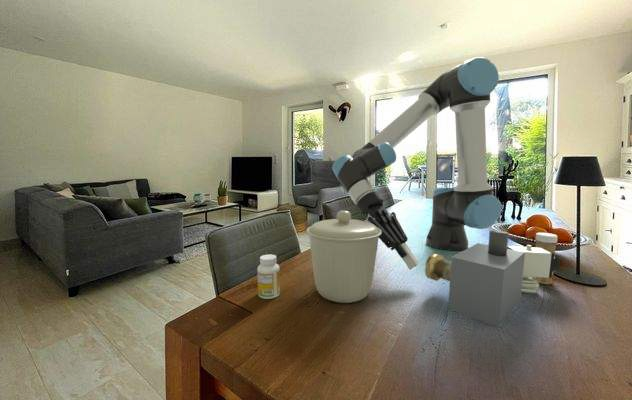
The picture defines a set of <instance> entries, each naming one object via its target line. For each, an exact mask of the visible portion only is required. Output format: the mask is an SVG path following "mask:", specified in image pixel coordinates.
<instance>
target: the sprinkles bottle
mask: <svg viewBox="0 0 632 400" xmlns="http://www.w3.org/2000/svg"><path fill="white" fill-rule="evenodd" d="M557 243H558V235H557V234H554V233H550V232H536V233H535V247H534V248H544V249H546V250H548V251H550V252H552V253H554V255H556V247H557ZM532 279H533V280H536V281H538V283H539V284H541V285H551V284H553V281H552V280H553V277H552V278H544V277H535V278H533V277H532Z"/></svg>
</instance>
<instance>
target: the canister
mask: <svg viewBox="0 0 632 400" xmlns="http://www.w3.org/2000/svg"><path fill="white" fill-rule="evenodd" d="M306 234H308V236H309V243H310V244H309V245H310V254H311V263H312V269H313V271H312V273H313V277H314V284H315V287H316V288H315V289H316V290H317V292H318V295H321V297H323V298H324V299H325V300H327V301H330V302H334V303H338V304H339V303H341V304H350V303H355V302H359V301H362V300H363V299H365V298H366V297H367V296H368V295H369V293H370V291H371V288H372V284H373V278H374V277H373V276H374V272H375V266H376V259H377V252H378V246H379V236H380V235H381V234H382V231H381V229H379V228H378V227H376V226H375V225H374V224H372V223H369V222H366V221H365V220H361V219H352V213H351V212H350V211H348V210H339V211H338V212H337V214H336V218H331V219H324V220H320V221H316V222H314V223H313V224H311V225H310V226H308V227H307V228H306Z"/></svg>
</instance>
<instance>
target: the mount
mask: <svg viewBox="0 0 632 400" xmlns="http://www.w3.org/2000/svg"><path fill="white" fill-rule="evenodd" d="M488 245H489V244H484V243H475V244H473V245H471V246H470V247H468V248H467V249H464V250H461V252H458V253H456V254H454V255H453V256H451V259H450V261H451V273H450V281H449V291H448V292H449V293H448V307H447V308H448V309H449V310H451V311H454V312H456V313H459V314H462V315H465V316H468V317H470V318H473V319H475V320H478V321H481V322H483V323H486V324H489V325H491V326H493V327H496V328H500V327H501V326H502V325H503V323H504V322H505V321H506V319H507V318H508V317H509V316H510V314H511V313H513V311H514V310H515V308H517V306H518V305H519V303H520V302H521V299H522V298H521V296H522V295H521V294H522V293H521V288H522V278H523V268H524V257H525V252H521V251H516V250H510V249H507V255H506V256H495V255H491V254H489V253H488Z"/></svg>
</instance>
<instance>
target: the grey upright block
mask: <svg viewBox="0 0 632 400" xmlns="http://www.w3.org/2000/svg"><path fill="white" fill-rule="evenodd" d="M488 234H489V236H488V244H487V245H488V253H489V254H491V255H495V256H506V255H507V246H509V245H508V244H509V232H507V231H504V230H494V229H492V230H489V233H488Z"/></svg>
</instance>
